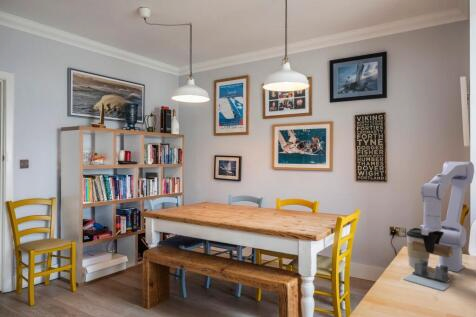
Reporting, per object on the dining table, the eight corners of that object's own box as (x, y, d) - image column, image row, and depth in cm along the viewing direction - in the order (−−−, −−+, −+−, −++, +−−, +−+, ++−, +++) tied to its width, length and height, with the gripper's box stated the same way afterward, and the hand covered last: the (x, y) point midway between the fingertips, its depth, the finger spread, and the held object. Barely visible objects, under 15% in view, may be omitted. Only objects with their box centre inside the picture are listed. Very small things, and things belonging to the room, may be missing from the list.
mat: (411, 275, 125) (411, 274, 125) (450, 285, 116) (450, 285, 116) (403, 279, 121) (403, 278, 121) (443, 291, 111) (443, 290, 111)
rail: (414, 247, 130) (414, 239, 130) (453, 256, 120) (453, 246, 120) (411, 249, 128) (411, 240, 127) (449, 258, 118) (450, 248, 117)
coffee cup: (434, 270, 130) (435, 233, 130) (409, 268, 132) (410, 231, 132) (426, 263, 139) (426, 227, 139) (403, 261, 141) (403, 226, 141)
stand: (418, 270, 130) (418, 259, 130) (450, 279, 122) (450, 267, 122) (412, 274, 126) (412, 262, 126) (444, 283, 118) (444, 270, 118)
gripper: (428, 211, 131) (427, 245, 131) (413, 215, 122) (412, 252, 122) (448, 214, 126) (447, 249, 126) (434, 218, 116) (433, 257, 117)
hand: (431, 251), depth 124 cm, fingers closed on rail, 3 cm apart
